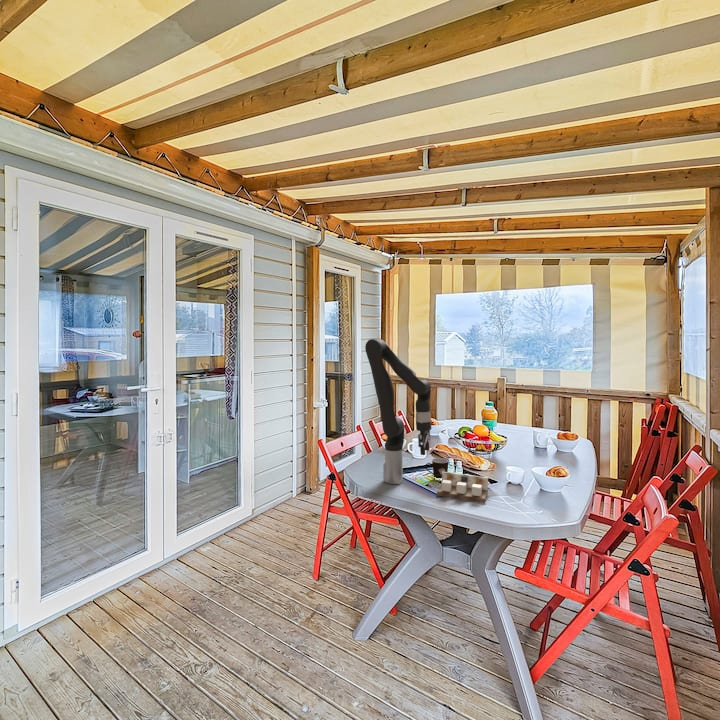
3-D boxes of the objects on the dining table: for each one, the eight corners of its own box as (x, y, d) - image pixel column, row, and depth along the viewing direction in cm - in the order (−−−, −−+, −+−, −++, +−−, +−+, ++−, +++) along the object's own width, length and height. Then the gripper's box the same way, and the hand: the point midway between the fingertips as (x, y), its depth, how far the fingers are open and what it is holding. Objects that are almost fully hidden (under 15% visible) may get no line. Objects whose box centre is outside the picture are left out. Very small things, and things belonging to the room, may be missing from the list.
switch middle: (456, 492, 194) (456, 484, 194) (457, 489, 198) (458, 481, 198) (465, 494, 193) (465, 485, 192) (466, 491, 196) (466, 482, 196)
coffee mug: (449, 477, 222) (449, 459, 221) (446, 482, 214) (446, 463, 213) (428, 474, 226) (428, 456, 226) (424, 479, 218) (424, 461, 218)
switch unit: (436, 495, 197) (437, 479, 196) (442, 487, 208) (442, 471, 207) (484, 503, 188) (485, 485, 188) (487, 493, 199) (488, 477, 199)
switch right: (471, 495, 191) (471, 486, 191) (472, 492, 195) (473, 483, 195) (480, 496, 190) (480, 487, 190) (481, 493, 194) (481, 484, 193)
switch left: (441, 490, 197) (441, 482, 197) (443, 487, 201) (443, 479, 200) (450, 491, 195) (450, 483, 195) (451, 488, 199) (451, 480, 199)
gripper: (419, 417, 214) (421, 448, 215) (412, 423, 201) (413, 456, 202) (434, 417, 211) (435, 449, 212) (427, 423, 198) (429, 456, 199)
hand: (425, 452), depth 207 cm, fingers open, 8 cm apart
